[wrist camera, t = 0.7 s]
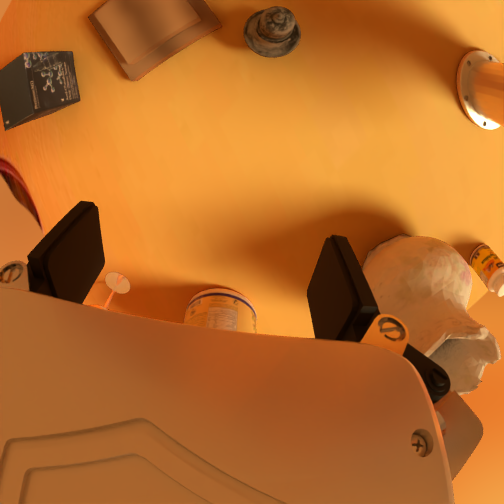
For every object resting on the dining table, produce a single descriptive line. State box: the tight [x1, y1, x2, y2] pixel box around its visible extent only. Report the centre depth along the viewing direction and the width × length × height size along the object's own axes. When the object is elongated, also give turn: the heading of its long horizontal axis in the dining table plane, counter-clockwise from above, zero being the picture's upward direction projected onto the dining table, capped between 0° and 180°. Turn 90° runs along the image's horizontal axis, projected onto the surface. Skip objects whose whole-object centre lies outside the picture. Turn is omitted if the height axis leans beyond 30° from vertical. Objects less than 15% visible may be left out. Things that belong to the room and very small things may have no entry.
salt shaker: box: [244, 6, 301, 57], centre depth 21 cm, size 6×6×12 cm
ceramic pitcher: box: [362, 234, 501, 395], centre depth 34 cm, size 22×20×25 cm
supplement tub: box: [183, 288, 257, 333], centre depth 42 cm, size 12×12×17 cm
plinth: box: [88, 0, 222, 81], centre depth 22 cm, size 12×12×4 cm
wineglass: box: [88, 272, 130, 310], centre depth 41 cm, size 7×7×12 cm
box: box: [0, 51, 80, 131], centre depth 22 cm, size 8×6×11 cm
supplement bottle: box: [470, 244, 504, 297], centre depth 38 cm, size 6×6×10 cm
